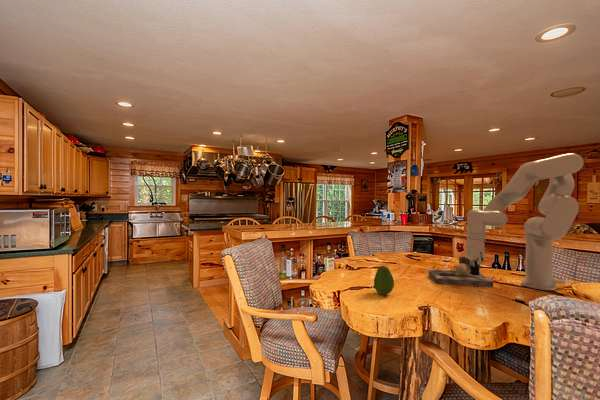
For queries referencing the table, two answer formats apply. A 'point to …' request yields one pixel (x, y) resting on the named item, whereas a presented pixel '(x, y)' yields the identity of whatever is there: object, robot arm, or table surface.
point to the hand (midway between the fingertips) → (474, 274)
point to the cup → (464, 261)
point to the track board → (459, 278)
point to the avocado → (383, 281)
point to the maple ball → (463, 269)
